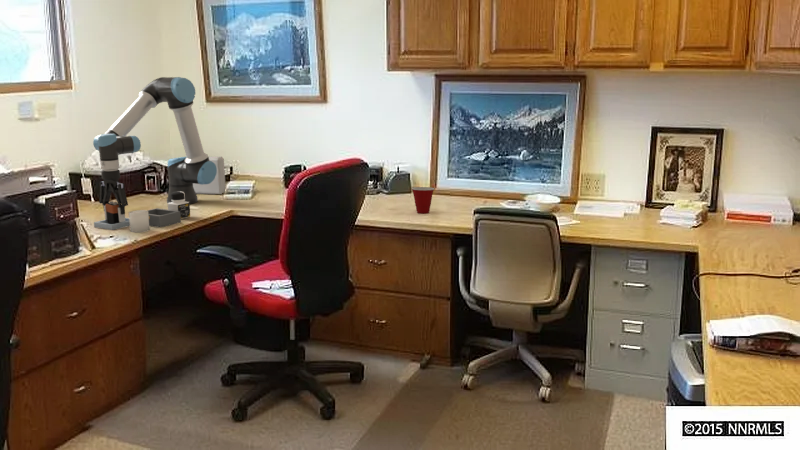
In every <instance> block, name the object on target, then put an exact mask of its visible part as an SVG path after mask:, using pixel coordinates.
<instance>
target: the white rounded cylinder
mask: <svg viewBox="0 0 800 450" xmlns="http://www.w3.org/2000/svg"><path fill="white" fill-rule="evenodd" d="M128 218H129V223H130V226H129V231H130V233H145V232H148V231H151V228H150V227H151V226H149V215H148V211H147V210H145V209H140V210H132V211H129V212H128Z"/></svg>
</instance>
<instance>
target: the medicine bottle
mask: <svg viewBox="0 0 800 450" xmlns="http://www.w3.org/2000/svg"><path fill="white" fill-rule="evenodd" d="M171 201H172V202H170V203H168V204H167V210H174V211H180V214H181V220H183V219H187V218H190V217H191V209H190V208H191V207H190V205H191V204H190V203H189V202H186V201H185V193H184V192H181V191H177V192H173V193H171Z"/></svg>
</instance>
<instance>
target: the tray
mask: <svg viewBox="0 0 800 450" xmlns="http://www.w3.org/2000/svg"><path fill="white" fill-rule="evenodd" d="M93 226H94V228H97V229H105V230H110V231H115V230H117V229H118V230H119V229H123V228H127V227H130V223H129V217H125V221H123V222H121V223H116V224H108V221H107V220H105V219H102V220H99V221H94V222H93Z"/></svg>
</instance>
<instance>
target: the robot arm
mask: <svg viewBox="0 0 800 450" xmlns="http://www.w3.org/2000/svg"><path fill="white" fill-rule="evenodd" d="M195 95H196V87H195V85H194V84H193V82H192V81H191V80H190V79H188V78H186V77H180V76H176V77H173V76H172V77H170V76H169V77H167V76H161V77H158V78H155V79H153V80H152V81H151V82H149V83H148V84H147V85H146V86H144V87H143V88H142V89H141V90H140V92H139V93H138V96H137V98H136V99H135V100H134V102H132V104H131V105H130V106H128V108H127V109H126V110H125V111H124V112H123V113H122V114H121V115H120V116H119V117H118V119H117V120H116V121H115V122H114V123H113V124H112V125H111V126H110V127H109V128H108V129H107V130H106V131H105V132H104V133H102V134H101V133H100V134H99V135H96V136H94V139H93V141H92V143H93V147H94V148H95V150H97V151H99V160H100V170H101V179H102V180H103V181H99V182H98V184H99V200H98V201H99V204H101V205H102V206H103V212H104V220H107V212H106V204H108V203H110V199H111V196H112V194H114V197H115V199H116V202H117V203H118V205H119V207H118V215H119V222H123V221H125V218H126V207H128V206H129V203H128V197H127V194H126V190H125V183H123V182H122V183H121V182H120V181H119V179H120V178H121V171H120V162H119V161H120V159H119V156H120V155H126V154H127V155H128V154H134V153H137V152H139V151H141V150H140V149H141V147H142V145H141V140H140V138H139V137H138V136H135V135H128V134H129V133H130V132H131V131H132V130H133V129H134V128H135V127H136V125H137V124H138V123H140V121H141V120H142V119H143V118H144V117H145V116H146V115H147V114H148V113H149V112H150V110H151V109H153V108H156V106H157V105H159V104H162V103H167V105H168V108H169V110H170V111H173V115H174V117H175V121H176V124H177V128H178V132H179V136H180V139H181V141H182V142H181V143H182V146H183V150H184V153H185V155H186V156H180V157H174V158H169V159H168V161H167V174H168V175H167V176H168V184H169V185H168V187H169V189H168V193H167V196H166V204H167V205H168V203H170V202H172V201H171V193H173V192H177V191H181V192H184V193H185V201H186V202H189V203H190V205H191V204H195V203H197V202H198V196H197V194H196V193H195V190H194V188H193V183H195V184H201V185H203V184H210V183H211V182H212V181H213V180H214V179H215V176H216V173H217V168H216V165H215V163H213V162H212V161H209V157H208V156H209V155H208V154H207V153H205V151H204V147H203V144H202V141H201V138H200V137H201V136H200V133H199V129H198V126H197V122H196V119H195V116H194V113H193V108H192V107H193V105H194V100H195V97H196V96H195ZM127 135H128V136H127Z"/></svg>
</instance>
